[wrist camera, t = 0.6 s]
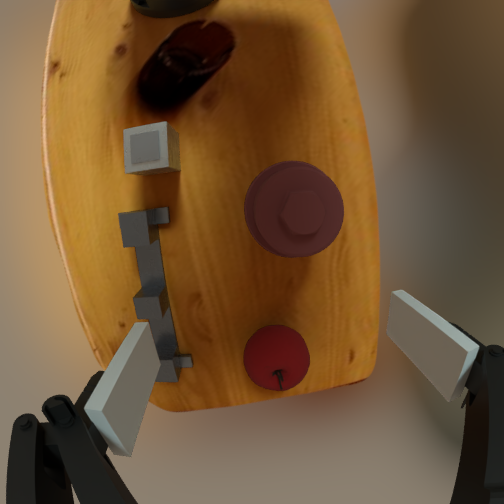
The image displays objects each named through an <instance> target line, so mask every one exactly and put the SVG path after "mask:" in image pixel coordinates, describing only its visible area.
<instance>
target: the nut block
mask: <svg viewBox="0 0 504 504" xmlns="http://www.w3.org/2000/svg"><path fill="white" fill-rule="evenodd" d="M124 161H125V173H126V174H135V175H143V176H146V175H153V174H160V173H167V172H175V171H181V165H180V148H179V133H178V132H177V131H176V130H175V129H174V128H173V127H172V126H171V125H170V124H169V123H168V122H160V123H155V124H149V125H143V126H138V127H133V128H128V129H124Z"/></svg>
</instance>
